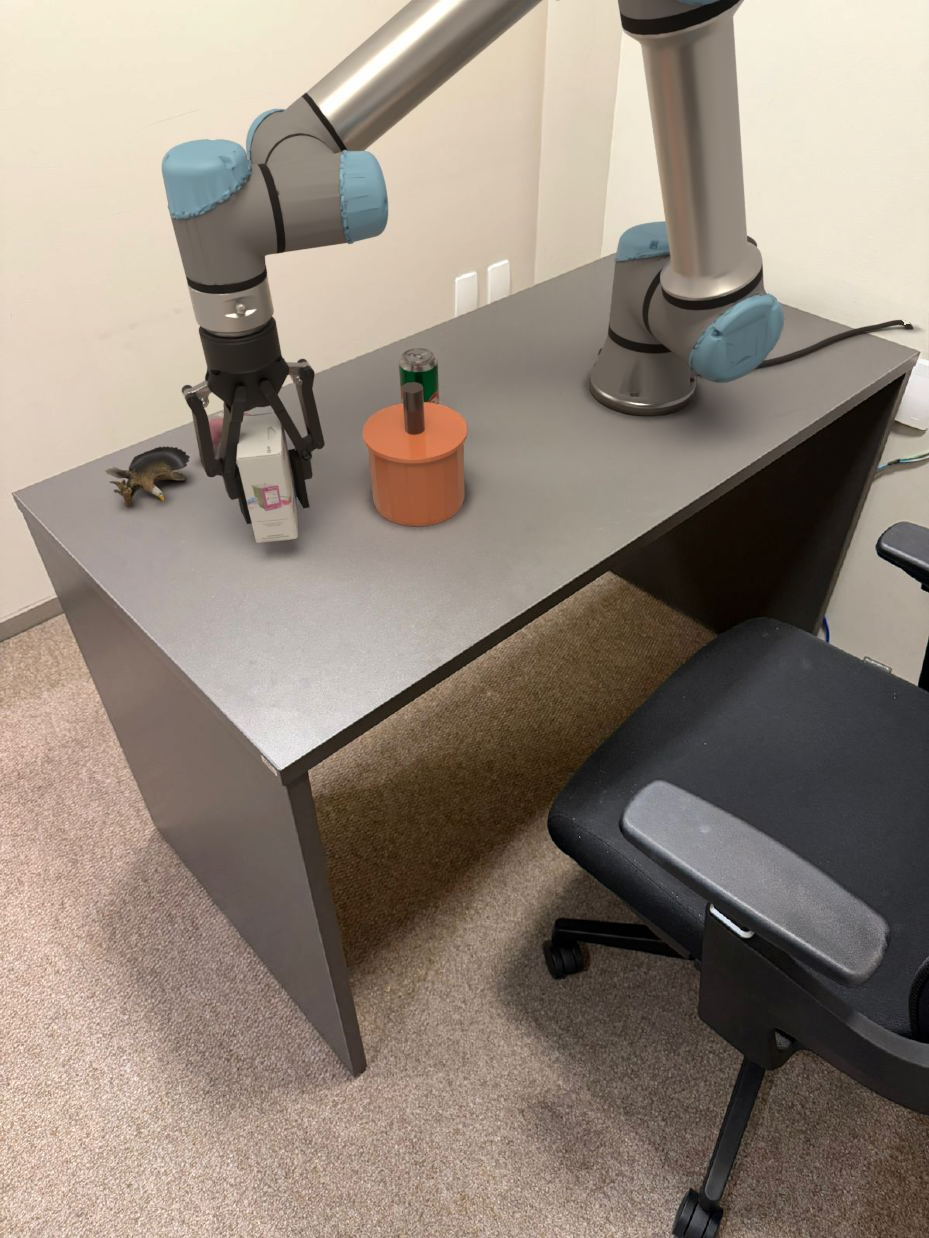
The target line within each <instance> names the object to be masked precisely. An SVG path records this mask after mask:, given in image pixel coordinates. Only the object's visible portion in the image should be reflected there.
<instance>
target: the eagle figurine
mask: <svg viewBox="0 0 929 1238" xmlns="http://www.w3.org/2000/svg"><path fill="white" fill-rule="evenodd" d="M190 458H191V456H190V455H189V454H187V452H186V451H184V450H183V449H181V448H178V447H177V446H176V447H174V446H169V445H167V446H165V445H163V446H158V447H154V448H152V449H150V450H147V451H144V452H143V453H140V454H137V455H136V456H134V457H133V458H132V460H131V462H130V464H129V465H128V469H121V468H119V467H116V466H112V467H111V466H110V467H107V468H104V471H105V473H106V474H107V475H108V476H111V477H114V478H115V479H122V481H121V482H120V481H117V480H110V481H109V484H113V485H115V486H116V487H117V488H118V489H113V492H114V493H116V494H118V495H120V496H121V497H123V500H124V505H125V507H128V506H129V505H130V504H131V503H132V502H133V499H134V496H135V494H136V493H137V491H138V490H140V489H141V490H143V491H145V492H147V493H150V494H152V495H154V496H155V497H157V498H159V499H160V500H161V501H162V502H164V501H165V497H164V494H163V492H162V490H161V489H160V488H158V487H157V486H156V484H154V483H155V482H156V481H164V480H165V481H167V480H168V481H169V480H172V481H182V482H183V481H184V482H185V480H186V479H187V478H186V477H187V476H186V474H184V473H183V472H179V470H183V469H185V468H186V467H187V466H188V464H187V463H189V462H190ZM125 479H127V480H125Z"/></svg>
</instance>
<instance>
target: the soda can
mask: <svg viewBox="0 0 929 1238" xmlns="http://www.w3.org/2000/svg"><path fill="white" fill-rule="evenodd" d="M398 373H399V386H400V387H399V388H400V399H401V400H400V401H401V403H403V397H402V386H403V385H404V384H407V383H411V382H415V383H419V384H421V385H422V386H423V398H424V402H428V403H435V404H439V405H440V385H439V362H438V359H437V358H436V356H435V352H434V351H433V350H431V349H430V348H425V347H412V348H409V349H406V350H405V351H403V352H402V353H401V356H400V360H399V362H398Z"/></svg>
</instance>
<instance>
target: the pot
mask: <svg viewBox="0 0 929 1238" xmlns="http://www.w3.org/2000/svg"><path fill="white" fill-rule="evenodd" d="M464 444H465V443H464ZM464 444H463V445H462V446H461V447H460V448H459V449H458V450H457V451H455V452H454V453H452V454H451V455H449V456H447V457H444V458H442V459H439V460H435V461H431V462H425V463H399V462H394V461H389V460H386V459H383V458H381V457H379V456H377V455H375V454H374V453H372V452H371V451H370V450H369V449H368V448H367V454H368V462H369V463H368V464H369V471H370V472H369V474H370V482H371V490H372V501H373V503H374V507H375V509H376V511H377V512H378V513H379V514H380V515H381V516H382V517H383V518H384V519H386V520H388V521H390V522H391V523H395V524H398V525H402V526H407V527H426V526H431V525H436V524H440V523H442V522H445V521H447V520H449V519H450V518H452V517H453V516H455V515H456V514H457V513H458V512H459V511H460V509H461V508H462V506H463V504H464V501H465V452H464V451H465V445H464Z"/></svg>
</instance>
